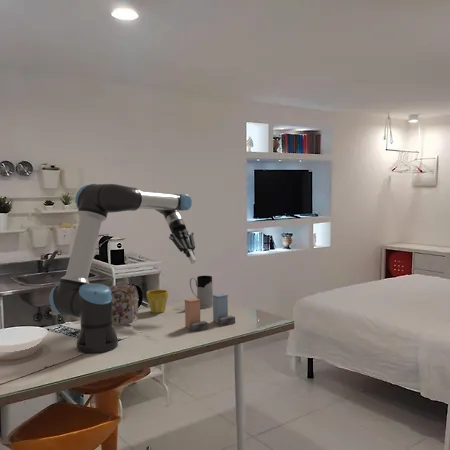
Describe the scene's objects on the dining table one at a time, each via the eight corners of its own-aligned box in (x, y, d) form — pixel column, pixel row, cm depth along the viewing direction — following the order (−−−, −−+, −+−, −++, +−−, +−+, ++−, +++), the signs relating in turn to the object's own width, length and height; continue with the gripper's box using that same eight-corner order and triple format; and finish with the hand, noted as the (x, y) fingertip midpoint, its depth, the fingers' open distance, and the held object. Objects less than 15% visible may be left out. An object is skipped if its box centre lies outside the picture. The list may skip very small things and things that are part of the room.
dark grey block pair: (188, 336, 192) (188, 326, 191) (172, 328, 203) (171, 319, 203) (240, 325, 206) (240, 316, 206) (222, 318, 218) (222, 309, 218)
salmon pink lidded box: (190, 329, 197) (189, 301, 196) (185, 326, 201) (184, 299, 200) (200, 326, 200) (200, 299, 199) (195, 324, 204) (195, 297, 203)
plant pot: (147, 309, 237) (147, 289, 236) (168, 308, 238) (168, 289, 237) (146, 314, 226) (146, 294, 226) (168, 313, 227) (167, 293, 227)
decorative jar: (138, 318, 220) (137, 279, 219) (133, 325, 209) (132, 285, 207) (113, 318, 221) (112, 280, 219) (106, 325, 209) (104, 285, 208)
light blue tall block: (218, 323, 205) (217, 296, 204) (213, 321, 208) (212, 295, 208) (228, 321, 208) (227, 295, 207) (222, 319, 211) (222, 293, 211)
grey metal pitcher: (206, 309, 235) (205, 279, 234) (184, 305, 243) (184, 276, 242) (217, 305, 242) (216, 276, 240) (196, 301, 250) (195, 273, 249)
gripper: (185, 228, 239) (202, 265, 226) (161, 229, 232) (178, 268, 219) (190, 218, 234) (208, 255, 222) (166, 219, 227) (184, 257, 214)
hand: (193, 261), depth 220 cm, fingers closed
